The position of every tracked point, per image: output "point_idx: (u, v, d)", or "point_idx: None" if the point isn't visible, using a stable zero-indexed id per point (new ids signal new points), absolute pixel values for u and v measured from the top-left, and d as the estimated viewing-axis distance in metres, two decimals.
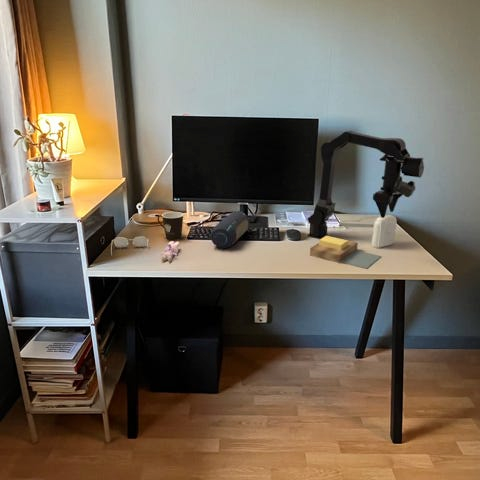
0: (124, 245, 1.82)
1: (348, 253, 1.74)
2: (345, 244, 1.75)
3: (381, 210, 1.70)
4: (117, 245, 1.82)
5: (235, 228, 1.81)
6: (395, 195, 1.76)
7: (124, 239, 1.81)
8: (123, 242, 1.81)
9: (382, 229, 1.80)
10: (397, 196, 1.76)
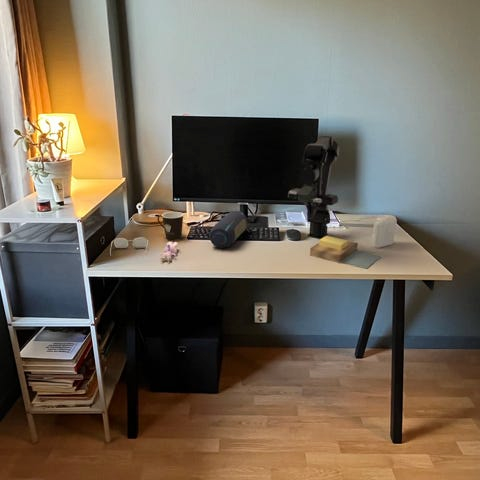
0: (124, 246, 1.81)
1: (348, 253, 1.74)
2: (345, 244, 1.75)
3: None
4: (117, 246, 1.81)
5: (234, 228, 1.81)
6: None
7: (124, 240, 1.80)
8: (123, 242, 1.81)
9: (382, 229, 1.80)
10: None
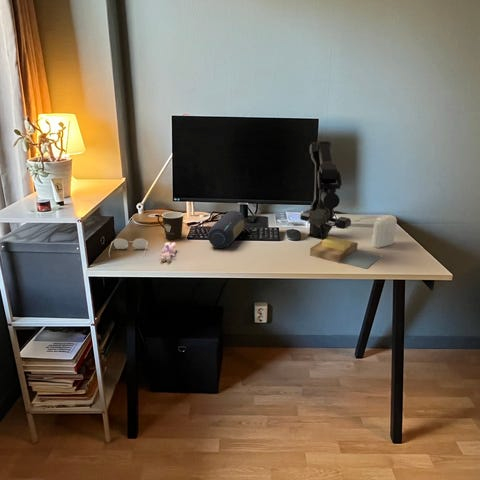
0: (124, 247, 1.80)
1: (348, 253, 1.74)
2: (348, 245, 1.75)
3: None
4: (117, 247, 1.80)
5: (232, 227, 1.82)
6: None
7: (124, 241, 1.79)
8: (123, 243, 1.80)
9: (382, 229, 1.80)
10: None
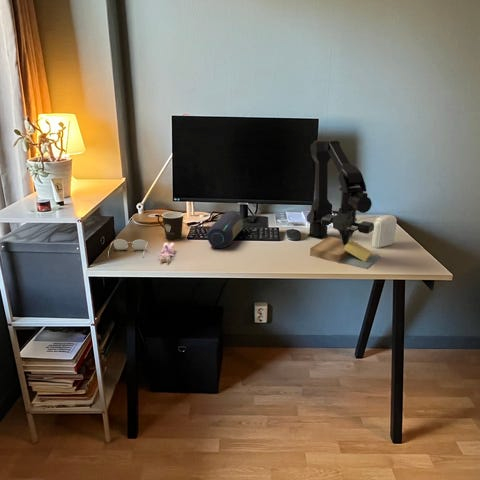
0: (124, 247, 1.80)
1: (348, 253, 1.74)
2: (369, 256, 1.72)
3: None
4: (117, 247, 1.80)
5: (231, 227, 1.82)
6: None
7: (124, 241, 1.78)
8: (123, 244, 1.79)
9: (382, 229, 1.80)
10: None
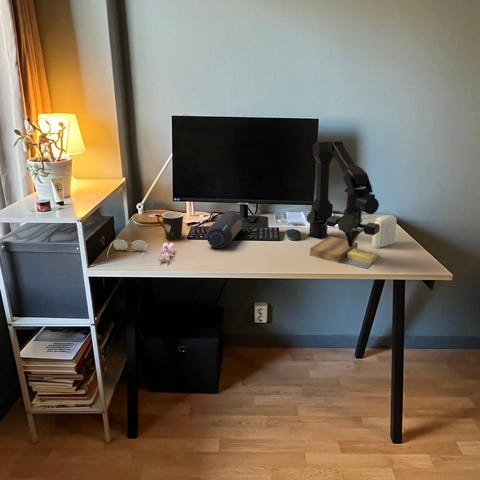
0: (124, 248, 1.79)
1: None
2: (374, 257, 1.70)
3: None
4: (117, 247, 1.79)
5: (231, 227, 1.82)
6: None
7: (123, 242, 1.78)
8: (123, 244, 1.79)
9: (382, 229, 1.80)
10: None
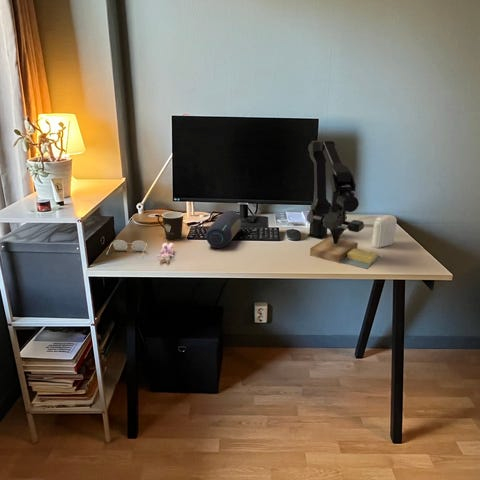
0: (123, 248, 1.79)
1: None
2: (374, 257, 1.70)
3: None
4: (117, 248, 1.79)
5: (230, 227, 1.82)
6: None
7: (123, 242, 1.78)
8: (122, 245, 1.78)
9: (382, 229, 1.80)
10: None
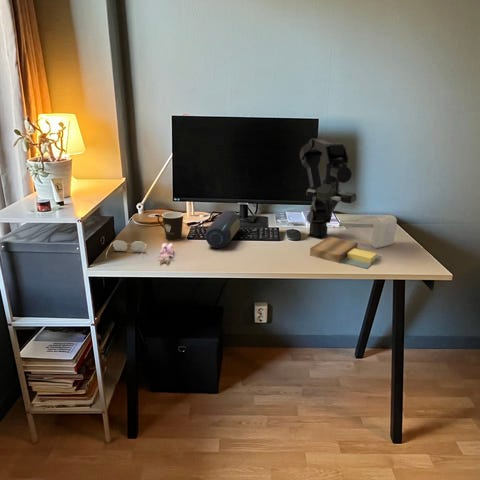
0: (123, 249, 1.78)
1: None
2: (374, 257, 1.70)
3: None
4: (116, 248, 1.79)
5: (229, 227, 1.82)
6: None
7: (123, 243, 1.77)
8: (122, 245, 1.78)
9: (382, 229, 1.80)
10: None
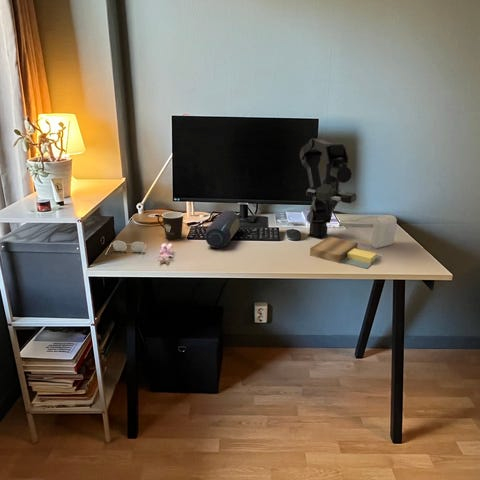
0: (123, 249, 1.78)
1: None
2: (374, 257, 1.70)
3: None
4: (116, 248, 1.78)
5: (229, 227, 1.82)
6: None
7: (123, 243, 1.77)
8: (122, 246, 1.77)
9: (382, 229, 1.80)
10: None
